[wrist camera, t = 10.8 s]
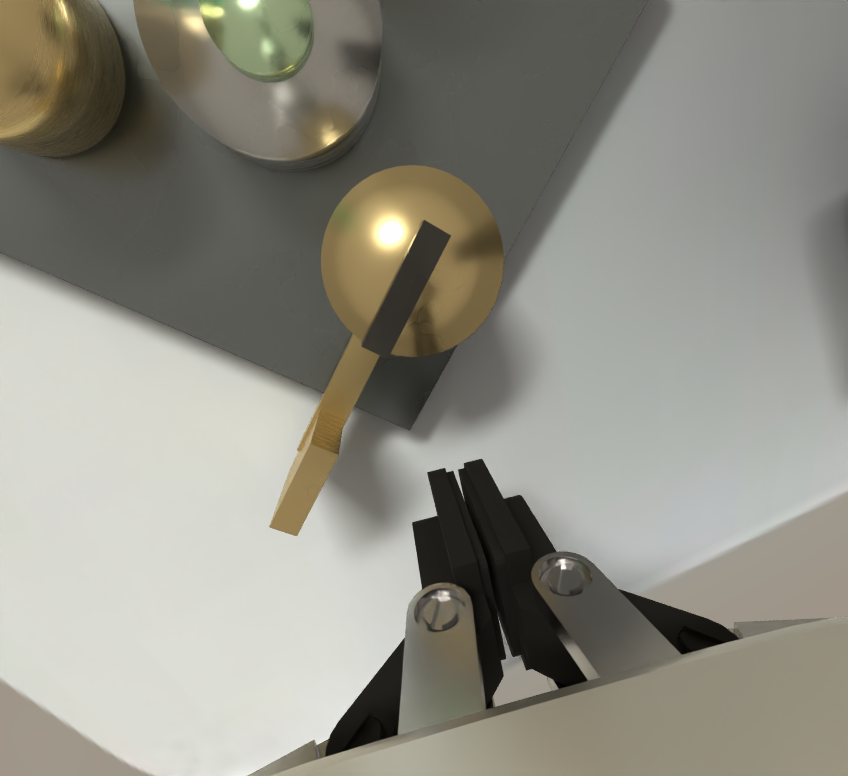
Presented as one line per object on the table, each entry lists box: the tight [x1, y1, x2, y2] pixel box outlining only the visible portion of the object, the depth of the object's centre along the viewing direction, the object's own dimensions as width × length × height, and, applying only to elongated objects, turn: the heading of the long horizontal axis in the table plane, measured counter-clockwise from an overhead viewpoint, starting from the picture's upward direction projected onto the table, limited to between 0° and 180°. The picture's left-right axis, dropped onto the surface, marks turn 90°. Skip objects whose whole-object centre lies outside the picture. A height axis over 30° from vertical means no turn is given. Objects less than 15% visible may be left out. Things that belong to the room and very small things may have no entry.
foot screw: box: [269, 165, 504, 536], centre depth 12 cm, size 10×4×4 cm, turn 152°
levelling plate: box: [0, 0, 648, 430], centre depth 10 cm, size 16×16×4 cm
